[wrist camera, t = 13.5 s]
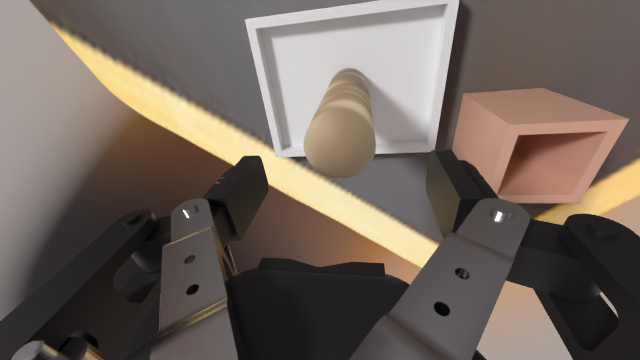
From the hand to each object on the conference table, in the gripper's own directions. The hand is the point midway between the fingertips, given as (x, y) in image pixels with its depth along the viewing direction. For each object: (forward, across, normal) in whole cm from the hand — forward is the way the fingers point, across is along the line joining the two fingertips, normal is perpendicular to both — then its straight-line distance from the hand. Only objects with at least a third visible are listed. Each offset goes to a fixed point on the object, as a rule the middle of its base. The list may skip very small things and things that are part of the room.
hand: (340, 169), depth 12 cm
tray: (+17, 0, 0) cm, 17 cm away
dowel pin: (+16, 0, 0) cm, 16 cm away
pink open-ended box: (+17, -15, +5) cm, 23 cm away
